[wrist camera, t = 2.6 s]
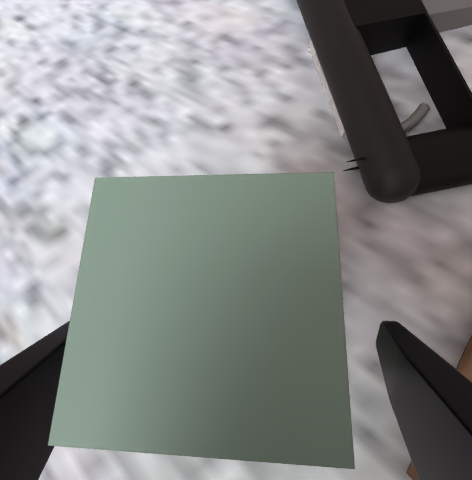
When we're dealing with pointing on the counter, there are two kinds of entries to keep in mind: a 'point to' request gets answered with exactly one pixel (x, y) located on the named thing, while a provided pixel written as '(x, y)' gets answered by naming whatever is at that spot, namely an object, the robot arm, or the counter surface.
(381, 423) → the counter surface
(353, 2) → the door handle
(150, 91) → the counter surface
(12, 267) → the counter surface
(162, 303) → the green post
